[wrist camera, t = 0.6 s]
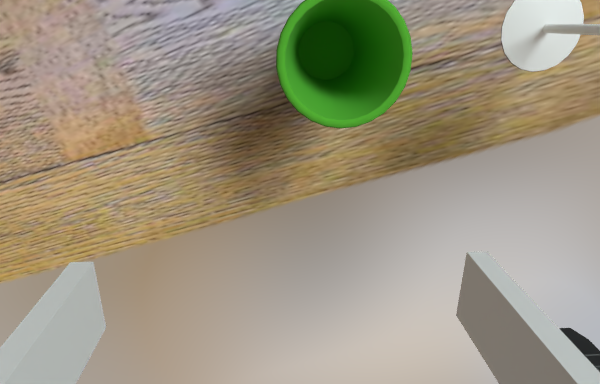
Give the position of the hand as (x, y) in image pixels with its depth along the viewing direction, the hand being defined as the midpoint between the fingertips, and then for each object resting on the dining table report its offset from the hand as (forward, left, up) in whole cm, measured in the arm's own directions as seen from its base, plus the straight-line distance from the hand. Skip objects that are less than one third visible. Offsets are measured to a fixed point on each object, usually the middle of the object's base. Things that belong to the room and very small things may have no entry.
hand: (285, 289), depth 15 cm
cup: (-6, +5, -27) cm, 29 cm away
